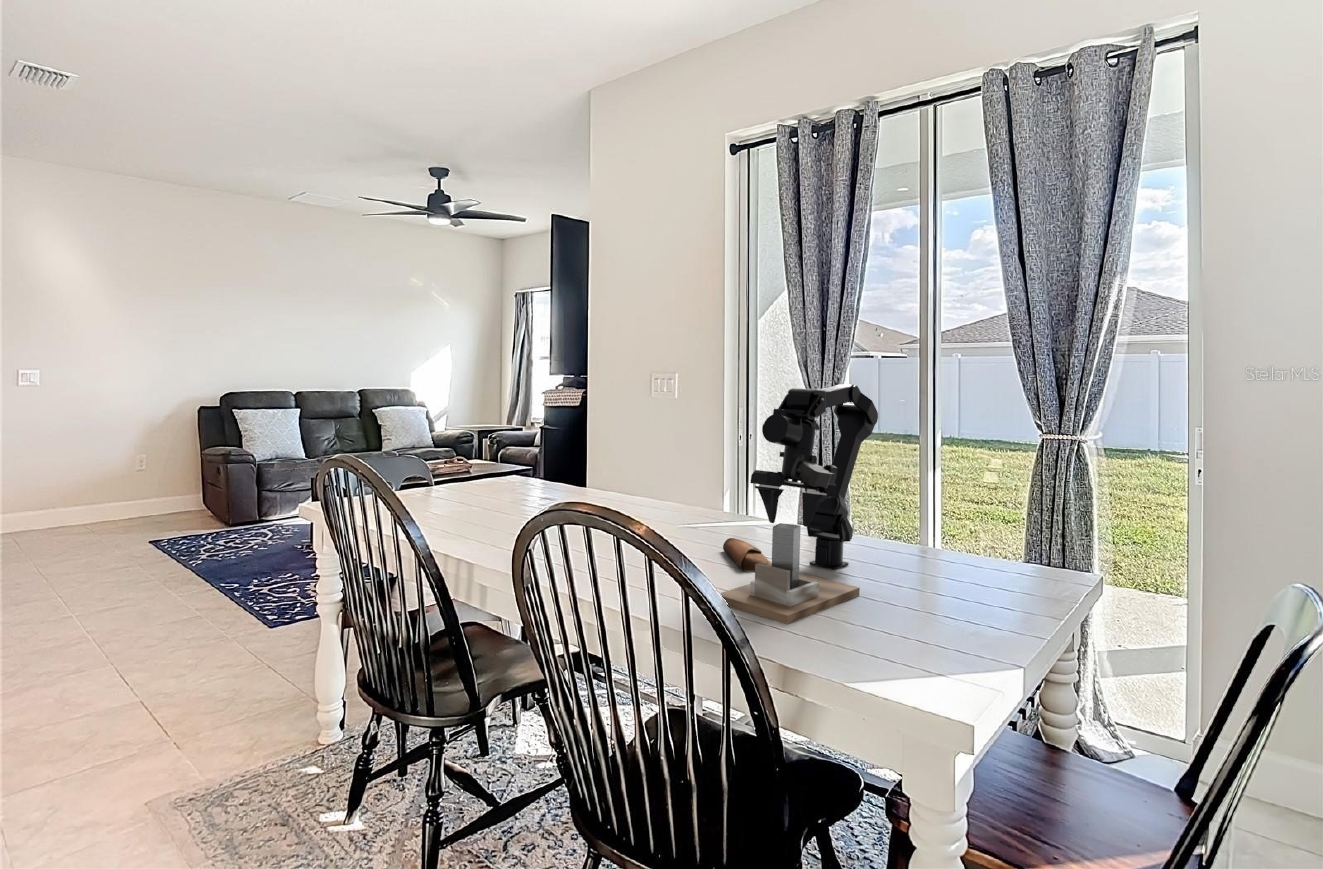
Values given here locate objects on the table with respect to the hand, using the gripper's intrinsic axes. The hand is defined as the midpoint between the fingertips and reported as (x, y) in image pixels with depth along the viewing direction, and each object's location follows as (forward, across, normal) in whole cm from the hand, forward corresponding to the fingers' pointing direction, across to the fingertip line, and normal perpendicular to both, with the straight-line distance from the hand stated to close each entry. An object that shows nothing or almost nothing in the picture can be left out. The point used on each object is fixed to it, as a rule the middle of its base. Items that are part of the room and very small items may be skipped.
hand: (789, 524), depth 146 cm
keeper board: (+13, -5, -8) cm, 16 cm away
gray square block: (+12, -8, -10) cm, 18 cm away
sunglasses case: (+11, +5, +18) cm, 22 cm away
